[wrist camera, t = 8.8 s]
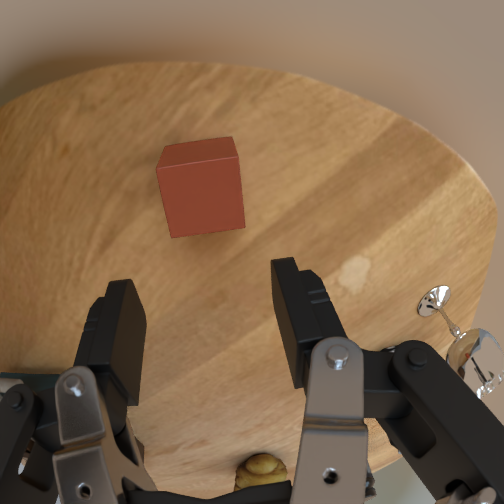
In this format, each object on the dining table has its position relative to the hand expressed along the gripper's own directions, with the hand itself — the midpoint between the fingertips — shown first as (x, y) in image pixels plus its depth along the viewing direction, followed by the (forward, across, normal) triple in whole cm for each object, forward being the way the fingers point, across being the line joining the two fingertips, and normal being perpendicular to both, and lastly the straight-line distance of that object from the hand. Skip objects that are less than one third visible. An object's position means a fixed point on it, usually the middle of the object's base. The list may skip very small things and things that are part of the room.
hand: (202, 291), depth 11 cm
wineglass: (+12, -22, +16) cm, 30 cm away
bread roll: (+12, 0, +54) cm, 55 cm away
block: (+11, 0, 0) cm, 11 cm away
